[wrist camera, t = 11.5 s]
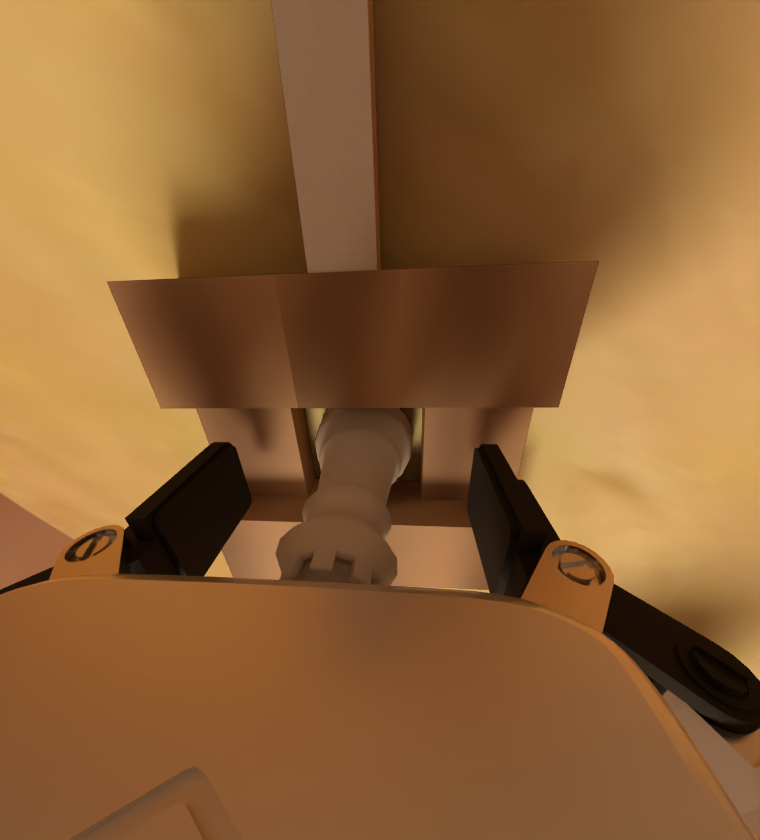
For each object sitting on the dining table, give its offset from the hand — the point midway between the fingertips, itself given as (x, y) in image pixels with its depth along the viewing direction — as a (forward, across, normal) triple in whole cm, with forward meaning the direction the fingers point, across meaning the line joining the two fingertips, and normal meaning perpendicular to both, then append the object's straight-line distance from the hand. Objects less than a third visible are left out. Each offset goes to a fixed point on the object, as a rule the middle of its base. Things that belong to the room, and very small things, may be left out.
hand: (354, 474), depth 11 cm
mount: (+3, 0, 0) cm, 3 cm away
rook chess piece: (+3, 0, 0) cm, 3 cm away
